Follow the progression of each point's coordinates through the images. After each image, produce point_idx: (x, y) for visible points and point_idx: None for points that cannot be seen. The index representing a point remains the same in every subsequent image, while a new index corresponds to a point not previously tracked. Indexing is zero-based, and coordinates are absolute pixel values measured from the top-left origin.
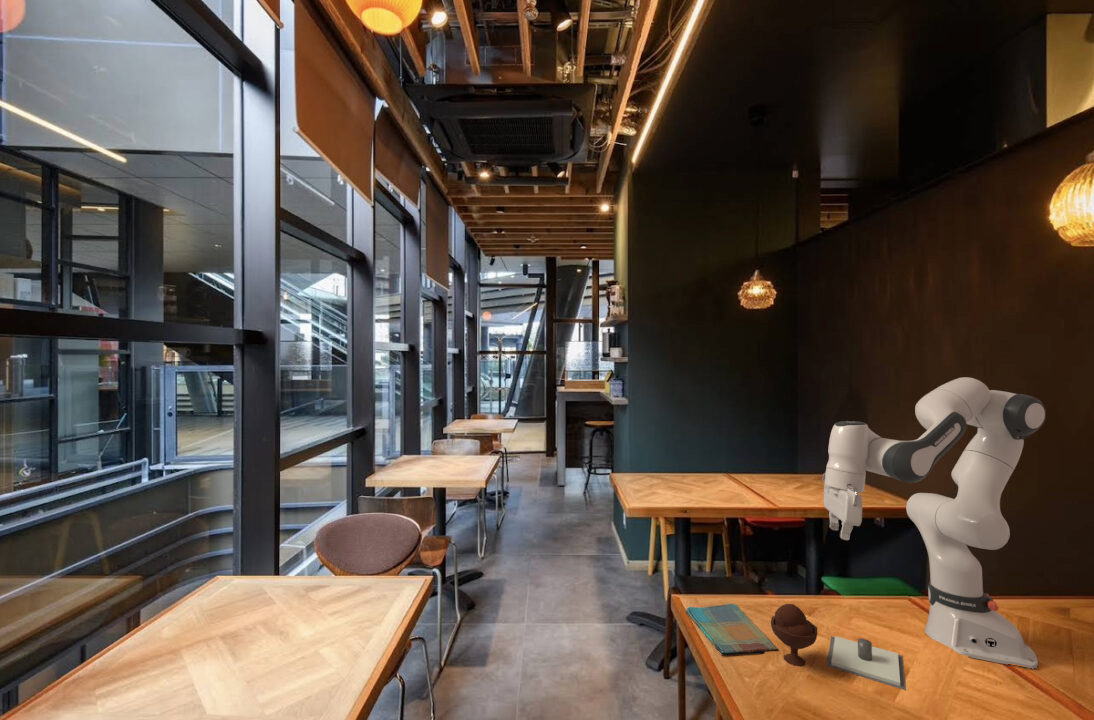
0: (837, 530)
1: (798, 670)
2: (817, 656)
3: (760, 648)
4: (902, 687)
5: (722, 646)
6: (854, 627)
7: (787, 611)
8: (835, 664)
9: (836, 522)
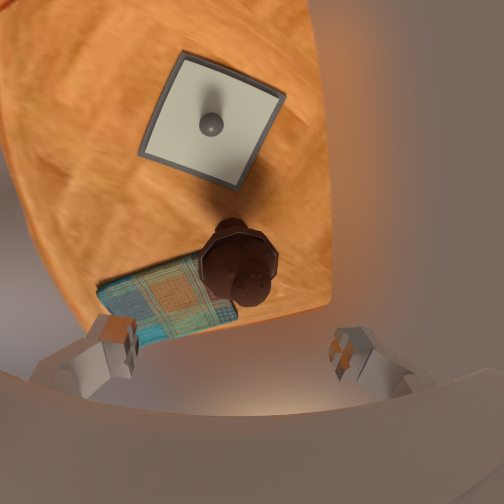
0: (134, 319)
1: None
2: (207, 195)
3: None
4: (280, 97)
5: (224, 318)
6: (89, 103)
7: (264, 300)
8: (238, 179)
9: (98, 352)
